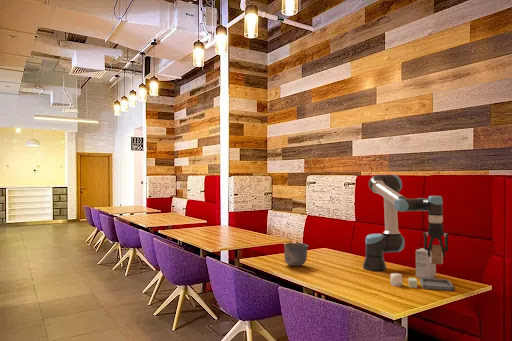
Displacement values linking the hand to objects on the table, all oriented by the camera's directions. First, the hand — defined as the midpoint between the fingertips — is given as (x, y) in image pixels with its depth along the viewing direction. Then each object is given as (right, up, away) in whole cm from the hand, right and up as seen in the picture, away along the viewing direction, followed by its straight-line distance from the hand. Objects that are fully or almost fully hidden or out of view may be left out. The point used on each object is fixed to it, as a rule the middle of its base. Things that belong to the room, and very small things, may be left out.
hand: (436, 262), depth 216 cm
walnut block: (0, 0, 0) cm, 0 cm away
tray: (0, -14, 0) cm, 14 cm away
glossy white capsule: (-22, -14, +3) cm, 26 cm away
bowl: (-76, -15, +49) cm, 91 cm away
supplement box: (+3, -14, +20) cm, 25 cm away
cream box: (-14, -14, 0) cm, 19 cm away
